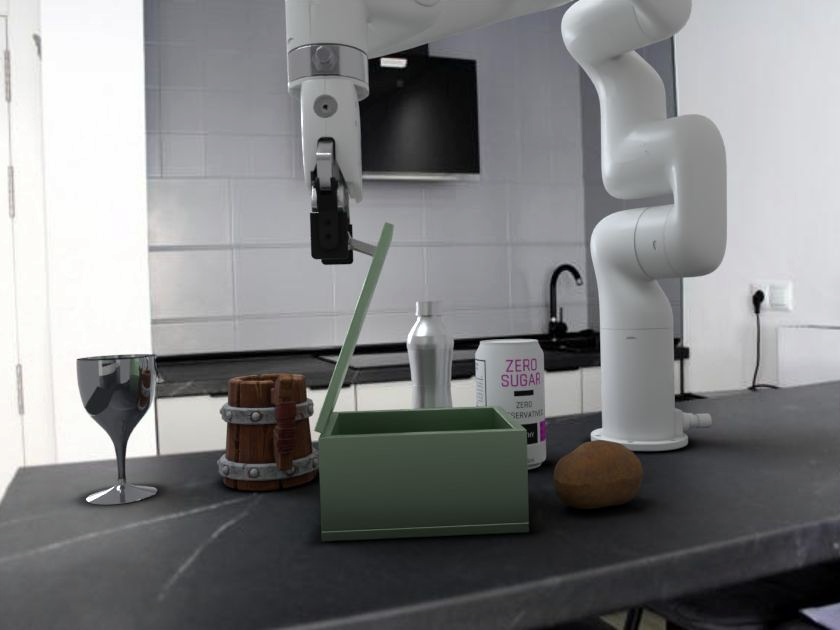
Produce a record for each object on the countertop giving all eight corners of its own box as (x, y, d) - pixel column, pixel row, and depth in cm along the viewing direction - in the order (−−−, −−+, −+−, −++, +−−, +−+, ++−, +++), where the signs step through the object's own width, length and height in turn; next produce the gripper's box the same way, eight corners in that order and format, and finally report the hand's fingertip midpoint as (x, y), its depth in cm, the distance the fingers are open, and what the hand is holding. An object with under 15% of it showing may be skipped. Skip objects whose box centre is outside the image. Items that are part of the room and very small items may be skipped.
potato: (536, 506, 68) (534, 442, 68) (605, 489, 73) (604, 429, 73) (587, 524, 62) (586, 453, 62) (658, 503, 68) (657, 439, 68)
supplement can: (506, 453, 91) (503, 338, 91) (559, 462, 85) (556, 339, 85) (464, 465, 86) (461, 342, 85) (518, 475, 80) (515, 343, 79)
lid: (392, 238, 73) (342, 221, 73) (394, 224, 59) (333, 203, 59) (334, 408, 73) (284, 392, 73) (322, 434, 59) (261, 413, 59)
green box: (502, 489, 74) (500, 405, 74) (529, 532, 60) (526, 429, 60) (333, 496, 73) (330, 411, 73) (321, 542, 60) (318, 437, 59)
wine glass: (83, 510, 71) (77, 362, 70) (80, 492, 78) (75, 357, 78) (166, 497, 74) (160, 357, 74) (156, 481, 82) (151, 352, 81)
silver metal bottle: (458, 445, 97) (454, 300, 97) (456, 456, 90) (452, 301, 90) (412, 445, 98) (408, 302, 97) (406, 456, 91) (402, 302, 90)
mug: (304, 458, 90) (306, 344, 87) (340, 505, 77) (344, 374, 75) (210, 470, 85) (209, 350, 82) (233, 522, 72) (233, 382, 70)
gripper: (366, 44, 57) (372, 255, 57) (370, 103, 74) (375, 265, 75) (273, 45, 57) (280, 257, 57) (299, 104, 74) (304, 267, 74)
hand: (334, 261), depth 66 cm, fingers open, 9 cm apart
